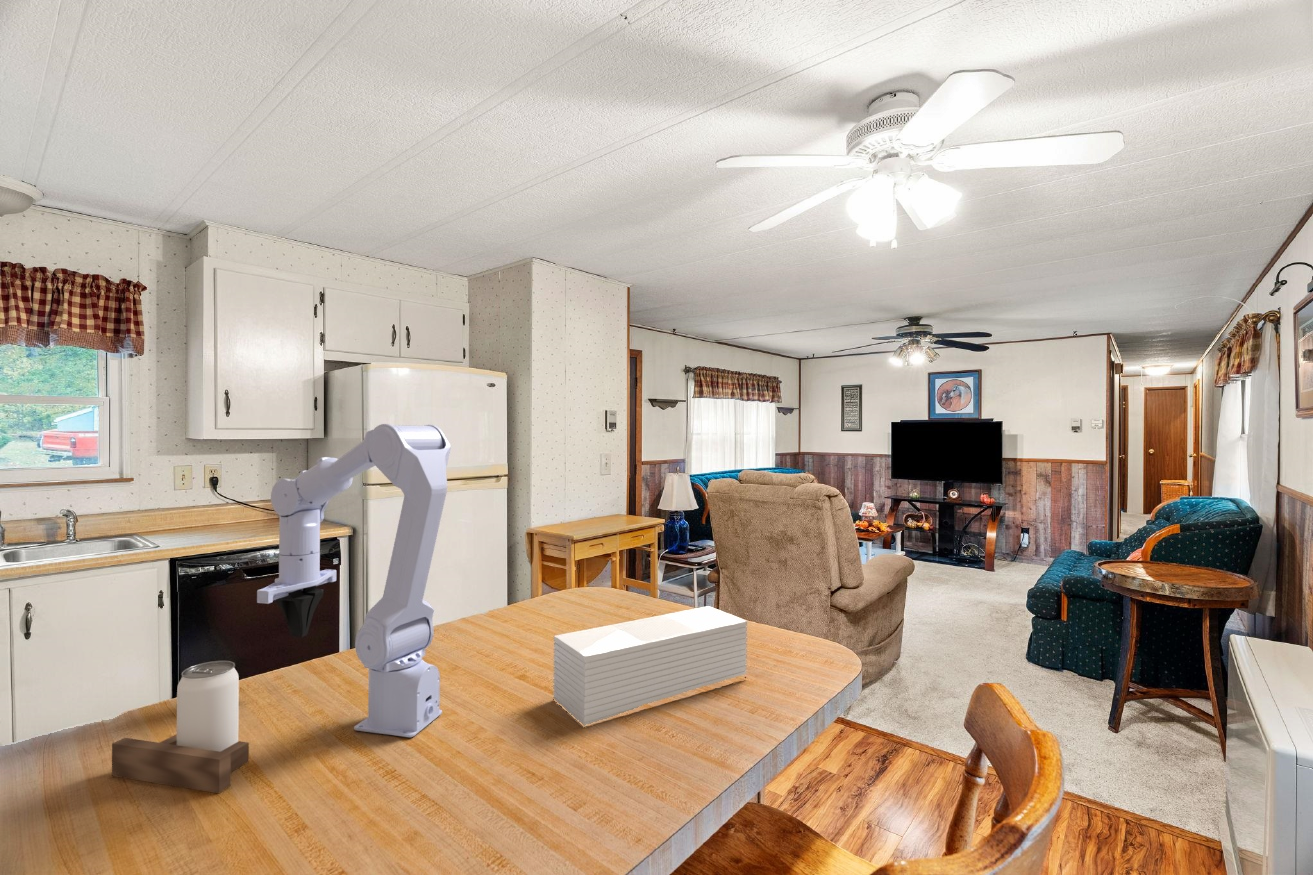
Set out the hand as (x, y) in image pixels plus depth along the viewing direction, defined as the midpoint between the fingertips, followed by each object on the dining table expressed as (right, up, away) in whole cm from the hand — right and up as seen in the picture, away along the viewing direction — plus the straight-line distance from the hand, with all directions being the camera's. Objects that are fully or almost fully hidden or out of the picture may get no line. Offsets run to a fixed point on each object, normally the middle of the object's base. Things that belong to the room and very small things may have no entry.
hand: (298, 635), depth 100 cm
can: (0, -10, -20) cm, 22 cm away
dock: (-1, -10, -22) cm, 24 cm away
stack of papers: (+58, -11, +4) cm, 59 cm away
